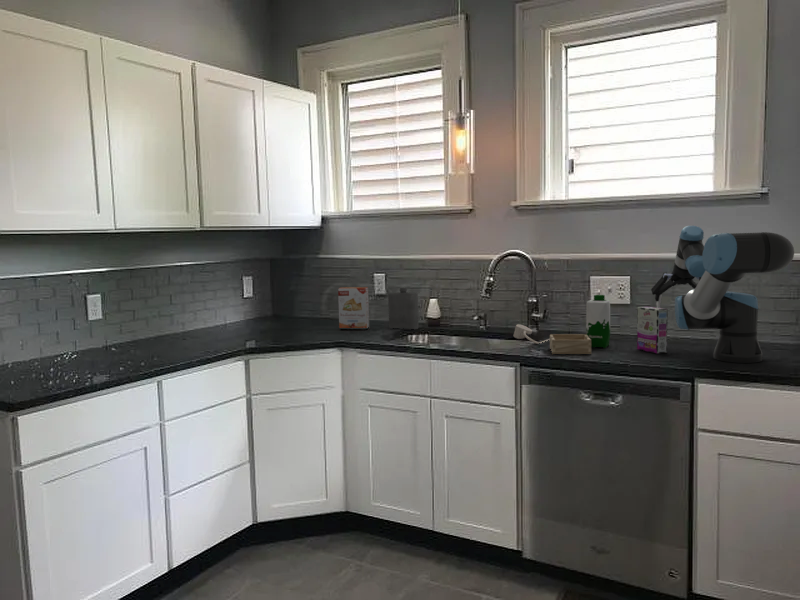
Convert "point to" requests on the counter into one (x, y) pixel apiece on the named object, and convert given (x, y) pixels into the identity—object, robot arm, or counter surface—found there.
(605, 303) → the soya milk
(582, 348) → the caddy
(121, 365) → the counter surface
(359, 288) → the cracker box
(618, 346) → the counter surface
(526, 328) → the toilet paper hanger
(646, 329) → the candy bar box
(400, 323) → the flask
